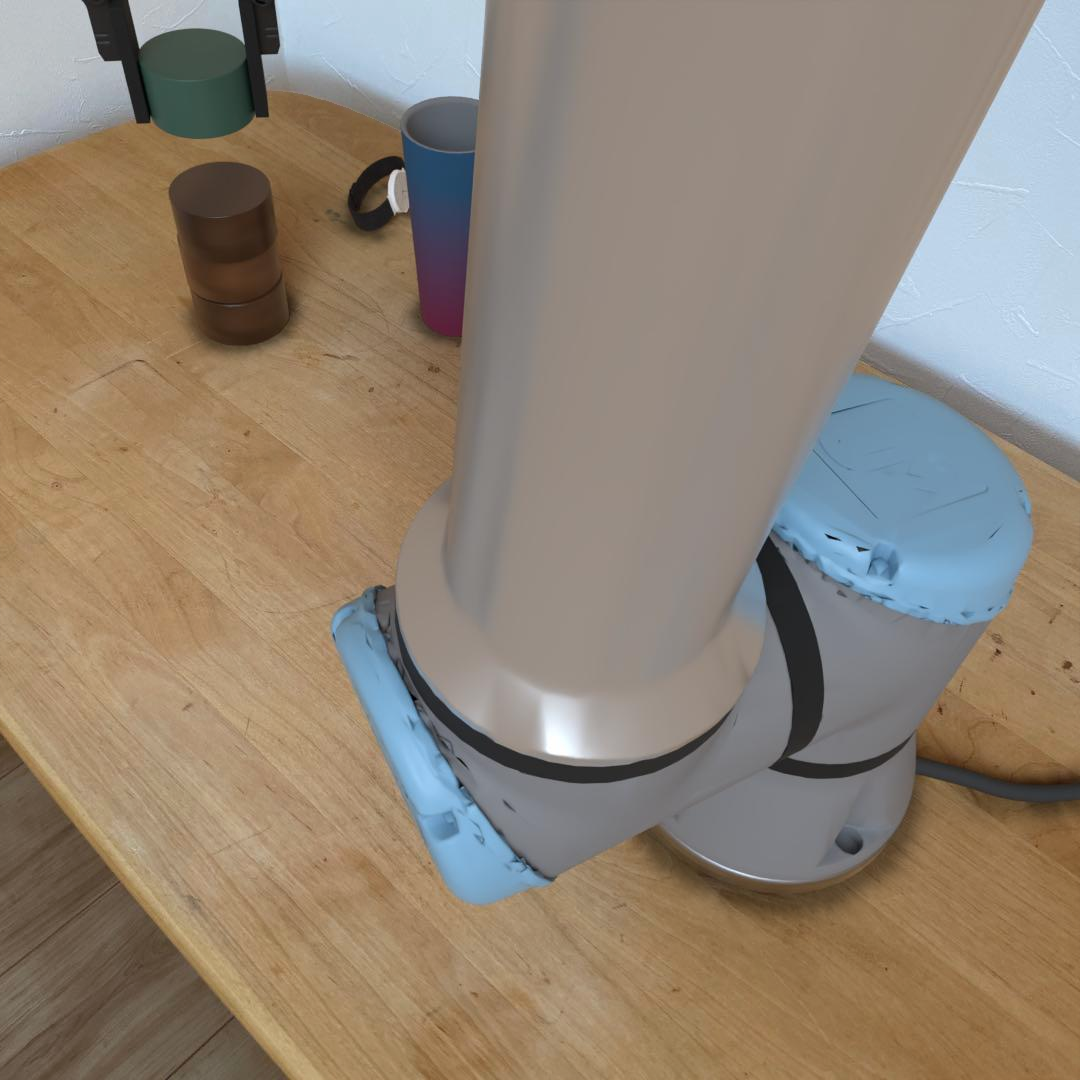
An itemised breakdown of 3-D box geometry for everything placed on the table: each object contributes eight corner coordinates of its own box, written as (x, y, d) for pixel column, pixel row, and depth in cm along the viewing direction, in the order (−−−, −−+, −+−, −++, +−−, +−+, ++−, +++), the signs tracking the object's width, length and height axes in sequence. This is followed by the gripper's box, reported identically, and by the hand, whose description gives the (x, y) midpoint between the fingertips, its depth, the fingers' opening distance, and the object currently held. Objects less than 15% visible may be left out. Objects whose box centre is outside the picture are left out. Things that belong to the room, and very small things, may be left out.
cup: (435, 355, 75) (430, 163, 64) (393, 301, 79) (381, 109, 67) (518, 328, 78) (529, 137, 66) (474, 276, 81) (477, 87, 70)
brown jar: (307, 300, 78) (289, 172, 70) (264, 356, 74) (240, 226, 66) (224, 278, 79) (197, 149, 71) (177, 332, 75) (143, 201, 67)
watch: (409, 141, 85) (433, 179, 87) (364, 157, 87) (388, 193, 90) (377, 201, 81) (402, 239, 83) (330, 215, 83) (356, 251, 86)
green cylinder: (274, 99, 64) (266, 41, 61) (224, 148, 60) (214, 89, 58) (184, 77, 65) (172, 19, 62) (130, 125, 61) (115, 65, 58)
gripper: (324, -425, 48) (359, 69, 66) (-130, -443, 45) (37, 83, 63) (339, -386, 44) (372, 133, 62) (-165, -402, 40) (26, 152, 58)
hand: (203, 107), depth 62 cm, fingers closed on green cylinder, 6 cm apart
